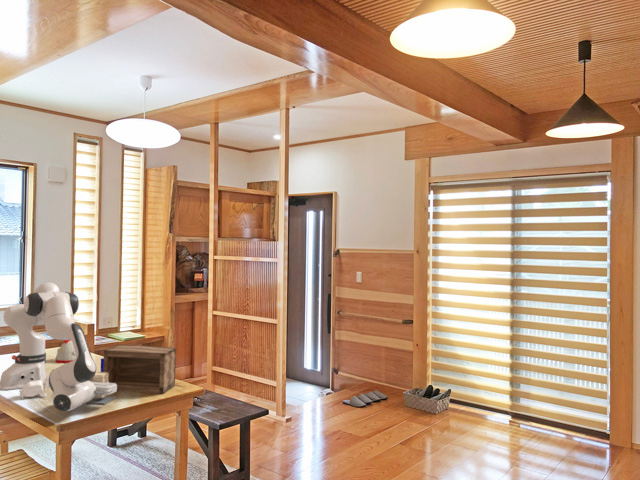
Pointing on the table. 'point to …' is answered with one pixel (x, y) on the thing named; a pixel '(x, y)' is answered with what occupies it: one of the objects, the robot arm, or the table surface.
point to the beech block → (100, 380)
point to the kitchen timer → (66, 352)
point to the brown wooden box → (141, 368)
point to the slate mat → (101, 400)
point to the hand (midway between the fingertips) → (101, 383)
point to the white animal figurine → (35, 388)
